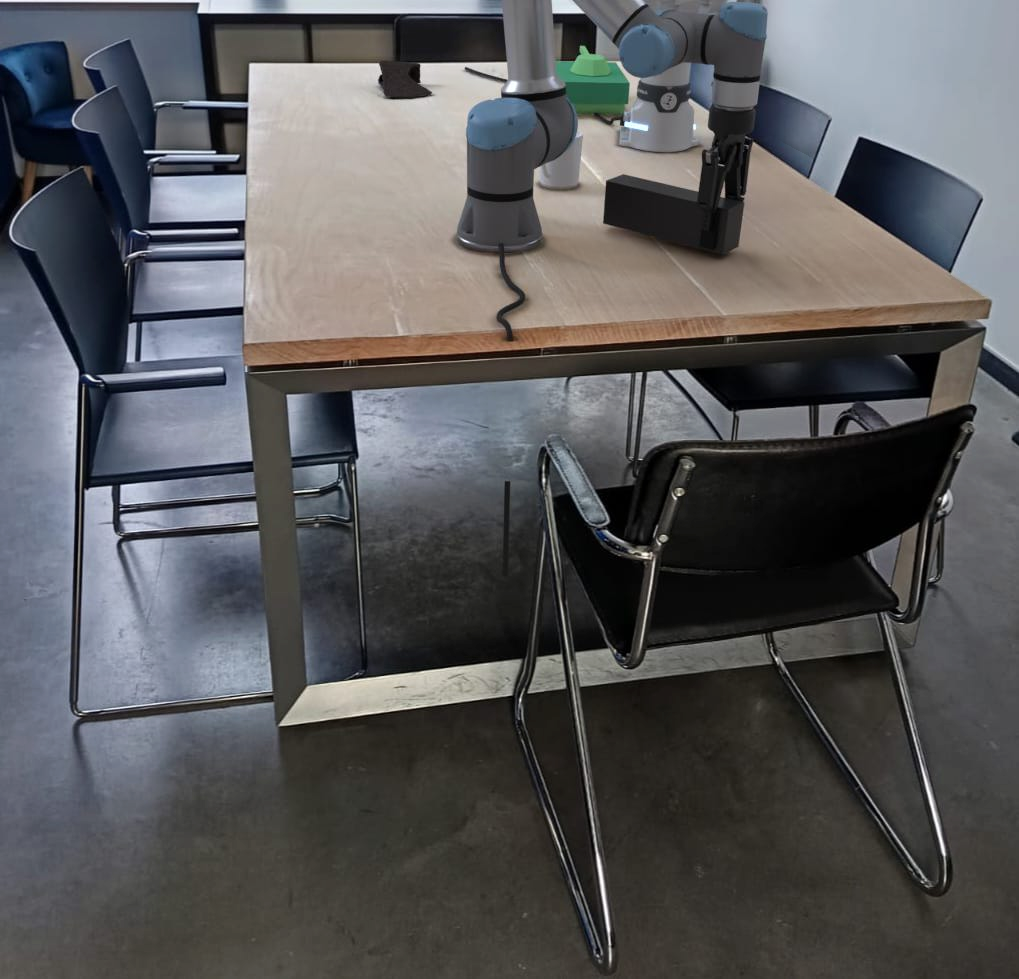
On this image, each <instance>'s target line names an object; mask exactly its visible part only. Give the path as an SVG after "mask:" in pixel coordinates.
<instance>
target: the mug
mask: <svg viewBox="0 0 1019 979" xmlns="http://www.w3.org/2000/svg"><path fill="white" fill-rule="evenodd" d="M583 140H584V132H583V131H582V130H579V129H577V134H576V137H575V139H574V141H573V143H572V145H571V146H570V147H569V148H568V150H566V151H565V152H564V153H563V154H562V155H561V156H560V157H558V158H557V159H555V160H554V161H551V162H548V163H546V164H544V165H542V166H540V167H539V184H540V186H542V187H543V188H546V189H551V190H571V189H573V188H576V187H578V186H579V181H580V172H581V170H580V169H581V161H582V152H583V151H582V150H583Z"/></svg>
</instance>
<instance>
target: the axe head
mask: <svg viewBox="0 0 1019 979" xmlns="http://www.w3.org/2000/svg"><path fill="white" fill-rule="evenodd" d="M378 66H379V68H380V72H381V74H379V75H378V79H377V84H378V85H379V86H380V87H381V88H382V89H383V95H384V96H385V97H388V98H394V99H395V98H396V99H403V98H405V99H406V98H407V99H411V98H418V97H425V96H429V95H432V94H433V91H431V90H430V89H428V88H427V87H425V86H422V85H421V84H422V82H421V63H419V62H410V61H408V62H407V61H397V60H388V59H387V60H380V61H379V62H378Z"/></svg>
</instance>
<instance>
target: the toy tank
mask: <svg viewBox="0 0 1019 979" xmlns="http://www.w3.org/2000/svg"><path fill="white" fill-rule="evenodd" d="M579 53H580V54H579V55H578V56H576V59H575V61H567V60H566V61H563V60H556V74H557V76H558V77H559V78H561V79H562V80H563V81H564V82H565V84H566V96H567V98H568V100H569V101H570V102H571V103H572V104H573V106H574V108H575V110H576V113H577V115H584V116H585V115H587V116H588V115H590V116H591V115H593V114H594V113H598V114H600V115H601V116H606V115H607V116H621V115H622V114H623V113H624V112H625V107H626V106H625V105H629V100H630V99H629V98H630V97H629V96H630V87H631V86H630V85H631V82H630V81H629V80H628V78H627V77H626V75H625V74H624V73H623V71H622V69H621V68H620V66H619V65H618V63H617V62H615V61H614V62H613V61H611V62H610V61H608V60H607V58H606V56H603V55H601V54H594V53H589V50H588V49H587V47H586V45H580V46H579ZM593 116H594V115H593Z"/></svg>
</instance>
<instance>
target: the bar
mask: <svg viewBox="0 0 1019 979" xmlns="http://www.w3.org/2000/svg"><path fill="white" fill-rule="evenodd" d="M698 191H699V190H693V189H689V188H684V187H681V186H677V185H673V184H672V185H671V184H667V183H663V182H659V181H654V180H651V179H646V178H641V177H637V176H633V175H629V174H625V173H622V174H620V175H617V176H615V177H612V178H609V179H607V180H606V181H605V188H604V203H603V218H602V224H604V225H608V226H611V227H615V228H618V229H623V230H627V231H630V232H634V233H638V234H642V235H644V236H645V235H646V236H649V237H652V238H656V239H660V240H665V241H667V242H672V243H675V244H676V243H677V244H679V245H683V246H687V247H691V248H694V249H699V250H702V251H706V252H709V253H713V254H717V255H721V256H724V255H725V254H728V253H729V252H731V251H733V250H735V249H737V248H739V246H740V239H741V232H742V226H743V225H742V224H743V216H744V208H745V201H744V202H741V201H737V200H732V199H728V198H725V196H724V197H723V196H720V200H719V204H718V208H717V211H719V221H718V229H717V237H716V245H715V249H714V250H712V249H708V248H704V247H700V246H699V244H700V236H701V227H702V218H703V210H700V209H697V207H696V206H697V198H698Z"/></svg>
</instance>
